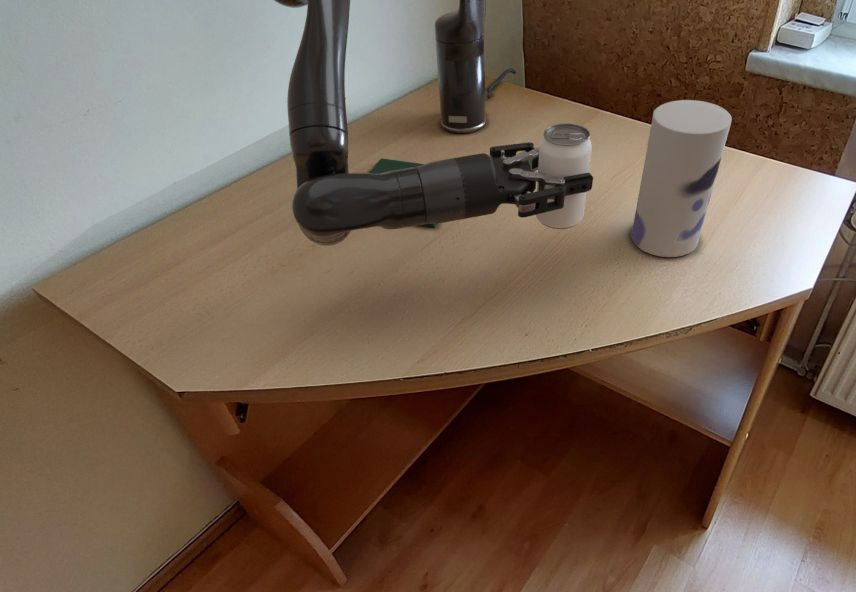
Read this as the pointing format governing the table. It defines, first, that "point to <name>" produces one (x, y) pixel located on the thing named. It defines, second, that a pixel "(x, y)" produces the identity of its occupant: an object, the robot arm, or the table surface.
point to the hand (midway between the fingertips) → (580, 167)
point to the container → (679, 176)
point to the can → (565, 169)
